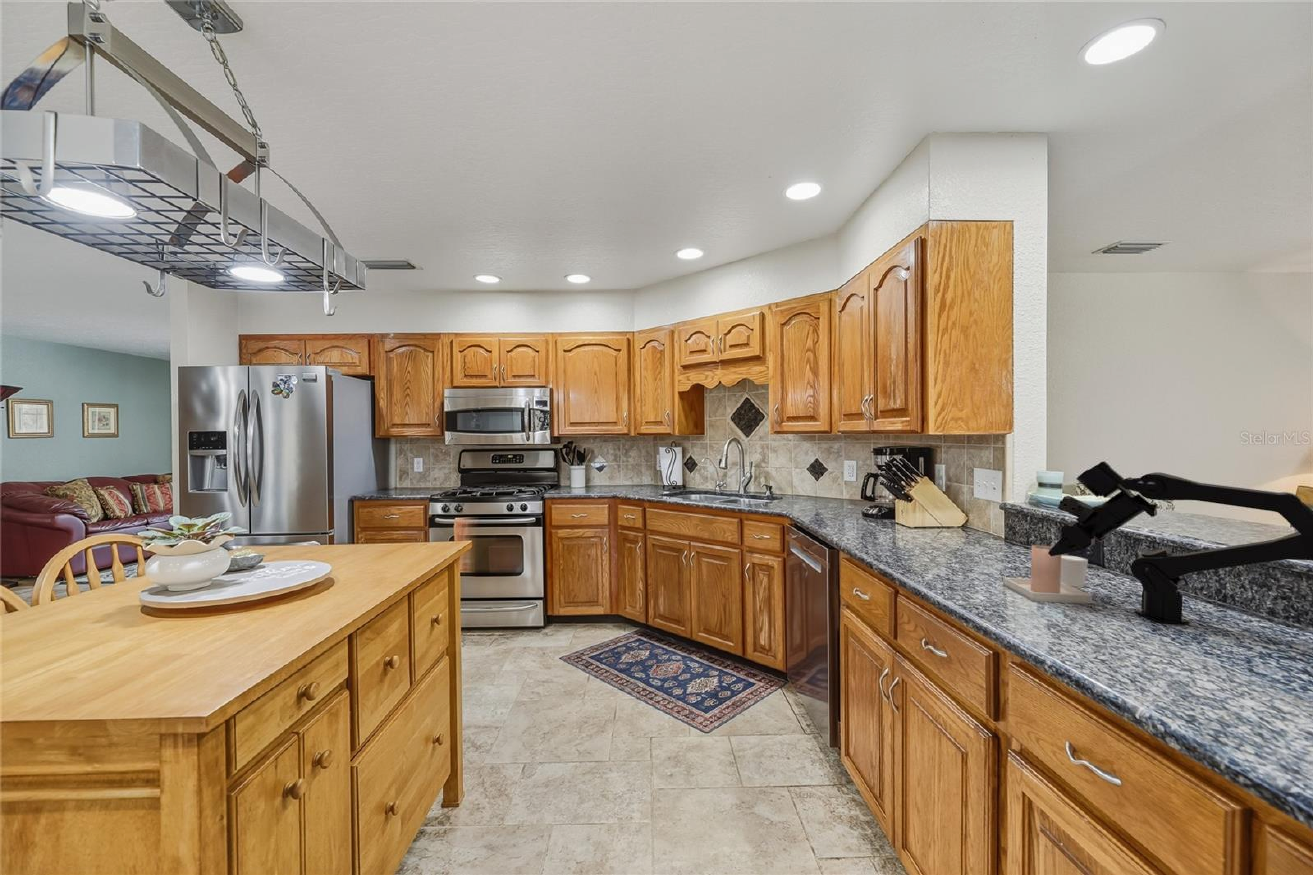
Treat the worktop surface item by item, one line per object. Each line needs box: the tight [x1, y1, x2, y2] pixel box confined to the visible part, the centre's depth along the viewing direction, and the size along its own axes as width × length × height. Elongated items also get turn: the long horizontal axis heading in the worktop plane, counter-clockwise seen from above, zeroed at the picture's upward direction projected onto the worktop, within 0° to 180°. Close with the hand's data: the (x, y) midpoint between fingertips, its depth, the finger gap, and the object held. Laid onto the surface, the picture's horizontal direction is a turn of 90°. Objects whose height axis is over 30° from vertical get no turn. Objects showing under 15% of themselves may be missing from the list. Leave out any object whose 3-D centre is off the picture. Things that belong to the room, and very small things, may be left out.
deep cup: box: [1030, 544, 1062, 593], centre depth 132 cm, size 6×6×11 cm
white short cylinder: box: [1061, 554, 1089, 588], centre depth 142 cm, size 7×7×7 cm
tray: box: [1002, 577, 1093, 605], centre depth 132 cm, size 13×13×2 cm
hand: (1055, 552), depth 131 cm, fingers open, 9 cm apart
